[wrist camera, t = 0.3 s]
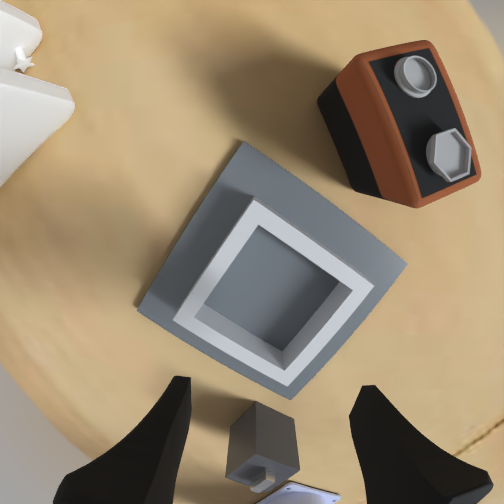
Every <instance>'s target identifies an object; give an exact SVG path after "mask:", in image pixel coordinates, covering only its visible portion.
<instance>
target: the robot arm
mask: <svg viewBox="0 0 504 504" xmlns="http://www.w3.org/2000/svg"><path fill="white" fill-rule="evenodd" d="M191 410H192V407H191V378H190V377H183V376H174V377H173V379H172V380H171V382H170V384H169V385H168V387H167V389H166V390H165V392H164V393H163V394H162V396H161V397H160V399H159V400H158V401H157V403H156V404H155V405H154V406H153V408H152V409H151V410H150V411H149V413H148V414H147V415H146V416H145V417H144V418H143V419H142V421H141V422H140V423H139V424H138V425H137V426H136V427H135V428H134V429H133V430H132V431H131V432H130V433H129V434H128V435H127V436H126V437H124V438H123V439H122V440H121V441H120V442H119V443H117V444H116V445H115V446H114V447H112V448H111V449H110V450H108V451H107V452H106V453H104V454H103V455H101V456H100V457H98V458H97V459H95V460H93V461H92V462H90V463H89V464H87V465H85V466H83V467H81V468H79V469H77V470H76V471H74V472H71V473H69V474H67V475H66V476H65V477H64V479H63V480H62V482H61V484H60V485H59V488H58V490H57V492H56V495H55V497H54V500H53V504H173V496H174V489H175V482H176V477H177V472H178V468H179V464H180V461H181V457H182V453H183V450H184V446H185V442H186V438H187V434H188V431H189V424H190V417H191ZM349 420H350V428H351V434H352V438H353V442H354V446H355V449H356V453H357V456H358V460H359V463H360V467H361V470H362V474H363V478H364V483H365V490H366V498H367V504H477V503H478V502H479V501H480V500H481V499H483V498H484V497H485V496H486V495H487V494H488V493H489V492H490V491H491V490H492V488H493V483H492V481H491V479H490V476H489V474H488V472H487V471H485V470H483V469H480V468H477V467H475V466H472V465H470V464H468V463H466V462H464V461H461V460H459V459H458V458H456V457H454V456H452V455H450V454H449V453H447V452H446V451H444V450H443V449H441V448H440V447H438V446H437V445H435V444H434V443H433V442H431V441H430V440H429V439H427V438H426V437H425V436H424V435H423V434H421V433H420V432H419V431H418V430H417V429H416V428H415V427H414V426H413V425H412V424H411V423H410V422H409V421H408V420H407V419H406V418H405V417H404V416H403V415H402V414H401V413H400V412H399V411H398V410H397V409H396V408H395V407H394V406H393V405H392V403H391V402H390V401H389V400H388V399H387V398H386V397H385V396H384V395H383V393H382V392H381V391H380V390H379V389H378V388H377V387H376V386H375V385H367V386H362V388H361V390H360V392H359V395H358V397H357V399H356V402H355V404H354V406H353V408H352V411H351V413H350V415H349ZM340 499H341V495H337V494H333V493H329V492H325V491H322V490H318V489H314V488H311V487H307V486H304V485H300V484H297V483H294V482H290V483H287V484H286V485H285V486H283V487H282V488H280V489H279V490H277V491H276V492H274V493H272V494H271V495H269V496H268V497H266V498H265V499H263V500H261V501H260V502H258V503H256V504H334V503H335V502H337V501H339V500H340Z"/></svg>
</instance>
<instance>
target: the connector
mask: <svg viewBox="0 0 504 504" xmlns="http://www.w3.org/2000/svg"><path fill="white" fill-rule="evenodd" d="M299 470H300V465H299V456H298V448H297V440H296V432H295V424H294V419H293V418H291V417H289V416H286V415H284V414H282V413H280V412H278V411H276V410H274V409H272V408H269V407H267V406H265V405H263V404H261V403H259V402H257V401H256V402H255V403H254V404H253V405H252V406H251V407H250V408H249V409H248V410H247V411H246V412H245V413H244V414H243V415H242V416H241V417H240V418H239V419H238V420H237V421H236V422H235V423H234V424H233V425H232V426H231V427H230V436H229V446H228V456H227V465H226V475H225V477H226V478H228V479H231V480H234V481H236V482H239V483H242V484H245V485H247V486H250V491H253V492H256V493H260V492H262V491H265V492H269V491H271V490H272V489H274V488H275V487H277V486H278V485H280V484H281V483H283V482H284V481H285V480H287V479H288V478H290V477H291V476H293V475H294V474H295V473H297V472H298V471H299Z"/></svg>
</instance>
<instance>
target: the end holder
mask: <svg viewBox="0 0 504 504" xmlns="http://www.w3.org/2000/svg"><path fill="white" fill-rule="evenodd" d="M406 266H407V263H406V262H405V261H404V260H402V259H401V258H400V257H399V256H398V255H397V254H395V253H394V252H393V251H392V250H391V249H389V248H388V247H387V246H386V245H385V244H383V243H382V242H381V241H380V240H378V239H377V238H376V237H375V236H373V235H372V234H371V233H370V232H368V231H367V230H366V229H365V228H363V227H362V226H361V225H360V224H358V223H357V222H356V221H355V220H353V219H352V218H351V217H349V216H348V215H347V214H346V213H344V212H343V211H342V210H340V209H339V208H338V207H336V206H335V205H334V204H332V203H331V202H330V201H328V200H327V199H326V198H324V197H323V196H322V195H320V194H319V193H318V192H316V191H315V190H314V189H312V188H311V187H310V186H308V185H307V184H305V183H304V182H303V181H301V180H300V179H298V178H297V177H296V176H294V175H293V174H291V173H290V172H289V171H287V170H286V169H284V168H283V167H281V166H280V165H279V164H277V163H276V162H274V161H273V160H271V159H270V158H268V157H267V156H266V155H264V154H263V153H261V152H260V151H258V150H257V149H255V148H254V147H252V146H251V145H249V144H248V143H246V142H245V141H244V142H243V143H242V145H241V146H240V147H239V149H238V150H237V152H236V153H235V155H234V156H233V157H232V159H231V160H230V162H229V163H228V165H227V166H226V168H225V169H224V171H223V172H222V174H221V175H220V177H219V178H218V180H217V181H216V183H215V184H214V186H213V187H212V189H211V190H210V192H209V193H208V195H207V196H206V198H205V199H204V201H203V202H202V204H201V205H200V207H199V208H198V210H197V211H196V213H195V215H194V216H193V218H192V219H191V221H190V222H189V224H188V226H187V227H186V229H185V230H184V232H183V233H182V235H181V237H180V238H179V240H178V242H177V243H176V245H175V246H174V248H173V250H172V251H171V253H170V255H169V256H168V258H167V259H166V261H165V263H164V264H163V266H162V268H161V269H160V271H159V273H158V274H157V276H156V278H155V279H154V281H153V283H152V285H151V286H150V288H149V290H148V291H147V293H146V295H145V297H144V298H143V300H142V302H141V304H140V305H139V307H138V309H137V311H138V312H139V313H141V314H142V315H144V316H145V317H147V318H148V319H150V320H151V321H153V322H154V323H156V324H158V325H159V326H161V327H162V328H164V329H165V330H167V331H168V332H170V333H172V334H173V335H175V336H176V337H178V338H180V339H181V340H183V341H184V342H186V343H188V344H189V345H191V346H193V347H194V348H196V349H198V350H199V351H201V352H203V353H204V354H206V355H208V356H209V357H211V358H213V359H214V360H216V361H218V362H220V363H221V364H223V365H225V366H227V367H228V368H230V369H232V370H234V371H236V372H237V373H239V374H241V375H243V376H245V377H247V378H248V379H250V380H252V381H254V382H256V383H258V384H260V385H262V386H263V387H265V388H267V389H269V390H271V391H273V392H275V393H277V394H279V395H281V396H283V397H285V398H287V399H289V400H291V399H292V398H293V397H294V396H295V395H296V394H297V393H298V392H299V391H300V390H301V389H302V388H303V387H304V386H305V385H306V384H307V383H308V382H309V381H310V380H311V379H312V378H313V377H314V376H315V375H316V374H317V373H318V372H319V371H320V370H321V368H322V367H323V366H324V365H325V364H326V363H327V362H328V361H329V360H330V359H331V358H332V357H333V355H334V354H335V353H336V352H337V351H338V350H339V349H340V348H341V346H342V345H343V344H344V343H345V342H346V341H347V340H348V338H349V337H350V336H351V335H352V334H353V333H354V331H355V330H356V329H357V328H358V327H359V326H360V324H361V323H362V322H363V321H364V320H365V318H366V317H367V316H368V315H369V313H370V312H371V311H372V310H373V309H374V307H375V306H376V305H377V304H378V302H379V301H380V300H381V299H382V297H383V296H384V295H385V293H386V292H387V291H388V290H389V288H390V287H391V286H392V284H393V283H394V282H395V280H396V279H397V278H398V276H399V275H400V274H401V272H402V271H403V270H404V268H405V267H406Z"/></svg>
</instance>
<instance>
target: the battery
mask: <svg viewBox="0 0 504 504" xmlns="http://www.w3.org/2000/svg"><path fill="white" fill-rule="evenodd" d="M317 104H318V107H319V109H320V112H321V114H322V116H323V118H324V121H325V123H326V125H327V127H328V130H329V132H330V134H331V137H332V139H333V141H334V144H335V146H336V149H337V151H338V153H339V156H340V158H341V161H342V163H343V166H344V168H345V171H346V174H347V176H348V179H349V181H350V184H351V186H352V188H353V190H354V191H356V192H359V193H362V194H366V195H370V196H374V197H377V198H381V199H385V200H388V201H392V202H395V203H399V204H402V205H406V206H409V207H412V208H420V207H422V206H425V205H427V204H429V203H432V202H434V201H436V200H438V199H440V198H443V197H445V196H447V195H449V194H452V193H454V192H456V191H458V190H460V189H463V188H465V187H467V186H469V185H471V184H473V183H476V182H477V181H478V180H479V179H480V178H481V169H480V165H479V161H478V157H477V154H476V150H475V147H474V144H473V140H472V137H471V134H470V131H469V128H468V125H467V122H466V119H465V117H464V114H463V111H462V108H461V106H460V103H459V100H458V98H457V95H456V93H455V90H454V88H453V85H452V83H451V81H450V78H449V76H448V74H447V72H446V69H445V67H444V65H443V63H442V61H441V59H440V57H439V55H438V52H437V51H436V49H435V47H434V45H433V44H432V43H431V42H429V41H427V40H420V41H415V42H409V43H404V44H399V45H395V46H390V47H386V48H381V49H377V50H373V51H369V52H365V53H361V54H358V55H356V56H355V57H354V58H353V59H352V60H351V61H350V62H349V63H348V64H347V66H346V67H345V68H344V69H343V70H342V71H341V72H340V73H339V74H338V76H337V77H336V78H335V79H334V80H333V81H332V82H331V83H330V85H329V86H328V87H327V88H326V89H325V90H324V91H323V93H322V94H321V95H320V96H319V97H318V99H317Z"/></svg>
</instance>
